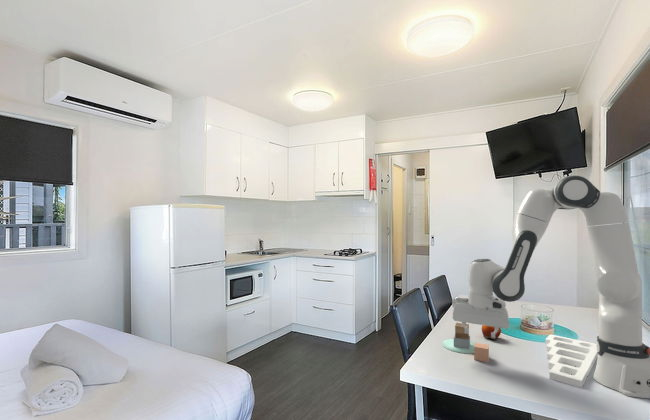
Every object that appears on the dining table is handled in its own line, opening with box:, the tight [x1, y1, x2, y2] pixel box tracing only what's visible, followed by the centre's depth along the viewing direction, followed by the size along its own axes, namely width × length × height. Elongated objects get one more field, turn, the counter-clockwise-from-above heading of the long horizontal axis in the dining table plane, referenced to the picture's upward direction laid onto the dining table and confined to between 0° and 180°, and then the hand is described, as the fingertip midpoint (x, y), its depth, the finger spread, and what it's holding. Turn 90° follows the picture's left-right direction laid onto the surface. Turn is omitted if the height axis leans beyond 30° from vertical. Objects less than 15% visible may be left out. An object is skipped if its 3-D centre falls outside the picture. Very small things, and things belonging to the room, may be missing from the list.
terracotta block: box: [473, 342, 490, 363], centre depth 133 cm, size 5×5×5 cm
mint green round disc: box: [441, 335, 476, 355], centre depth 145 cm, size 16×16×4 cm
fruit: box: [481, 325, 502, 341], centre depth 155 cm, size 8×8×8 cm
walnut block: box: [454, 322, 470, 340], centre depth 146 cm, size 5×5×5 cm
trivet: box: [545, 334, 598, 388], centre depth 132 cm, size 45×18×3 cm, turn 135°
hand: (479, 335), depth 134 cm, fingers open, 8 cm apart
